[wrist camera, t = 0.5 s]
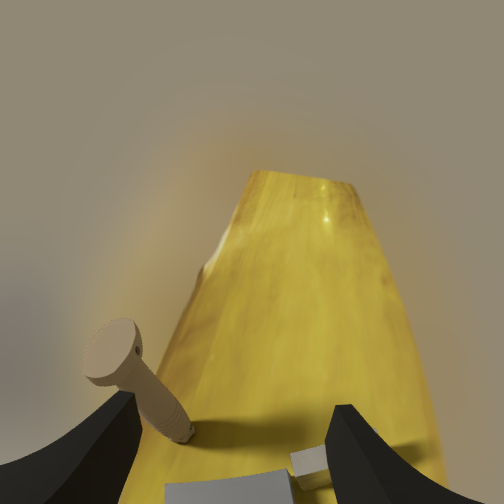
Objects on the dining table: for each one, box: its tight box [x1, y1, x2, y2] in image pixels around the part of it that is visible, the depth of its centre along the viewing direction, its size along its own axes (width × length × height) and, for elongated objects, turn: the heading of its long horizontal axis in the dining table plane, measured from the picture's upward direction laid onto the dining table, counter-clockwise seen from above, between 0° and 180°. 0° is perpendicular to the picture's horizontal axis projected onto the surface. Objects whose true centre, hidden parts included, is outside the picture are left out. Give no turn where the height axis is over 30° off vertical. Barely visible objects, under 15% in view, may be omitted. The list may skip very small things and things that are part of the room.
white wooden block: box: [290, 428, 378, 491], centre depth 21 cm, size 2×7×6 cm, turn 96°
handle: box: [82, 318, 195, 443], centre depth 26 cm, size 5×6×15 cm
